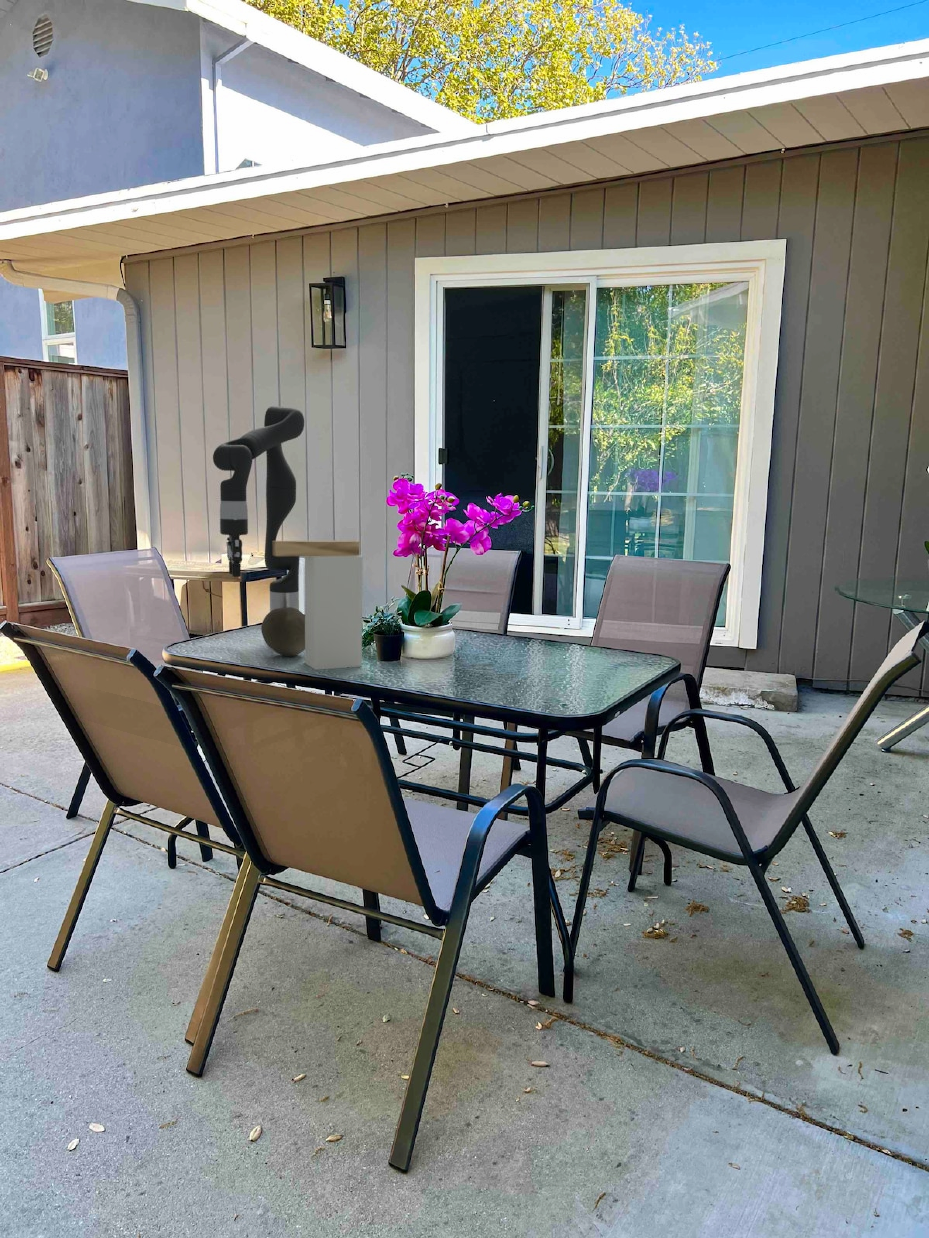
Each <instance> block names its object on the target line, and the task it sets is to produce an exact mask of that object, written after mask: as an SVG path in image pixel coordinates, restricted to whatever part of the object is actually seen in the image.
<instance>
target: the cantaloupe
mask: <svg viewBox="0 0 929 1238" xmlns="http://www.w3.org/2000/svg"><path fill="white" fill-rule="evenodd" d="M260 627H261V634H262V638H263V641H264V643H266V645H267V646H268V647H269V648H270V649H271V650H272V651H274V652H275V653H277V654H279V655H280V656H284V657H295V656H298V655H300V654H302V653H303V652H305V613H303V612H302V611H301V610H300V609H299V610H298V609H295V608H292V607H288V608H278V609H274V610H272V611H271V612H270V611H269V612H268V613H267V614H266V615H265V616H264V619H263V620H262V623H261V625H260Z"/></svg>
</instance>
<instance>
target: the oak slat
mask: <svg viewBox="0 0 929 1238" xmlns="http://www.w3.org/2000/svg"><path fill="white" fill-rule="evenodd" d="M350 555H360V540H356V539H355V540H351V539H350V540H276V541H273V556H300V557H305V556H350Z"/></svg>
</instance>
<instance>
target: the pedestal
mask: <svg viewBox="0 0 929 1238" xmlns="http://www.w3.org/2000/svg"><path fill="white" fill-rule="evenodd" d="M363 558H364V557H363V555H360V554H359V555H350V556H304V616H305V650H304V663H305V664H306V665H307V666H309V667H310V668H311V669H313V670H314V671H315V670H318V671H319V670H332V669H345V668H346V669H348V668H347V667H349V668H361V667H362V666H363V573H364V572H363V569H364V568H363Z"/></svg>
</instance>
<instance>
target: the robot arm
mask: <svg viewBox="0 0 929 1238" xmlns="http://www.w3.org/2000/svg"><path fill="white" fill-rule="evenodd" d="M263 423H264V425H263V427H258V428H255V429H252V430H250V431H248V432H247V433H244V435H242V436H241V437H239V438H236V439H233V440H229V441H227V442H224V443H221V444H219V445H218V446H217V447H216V449H215V450H214V452H213V454H212V461H213V464H214V466H215V467H216V468H217V469H219V470H221V471H225V472H226V471H227V472H229V471H231V472H232V471H233V475H232V477H231V478H228V479H227V478H226V479H223V480H222V481H221V482H220V486H219V488H220V489H219V491H220V495H219V496H220V506H219V532H220V534H221V535H223V536H228V537H227V538H226V542H225V543H226V554H227V555H226V556H227V560H228V573H229V574H230V575H232V577H234V578H240V577H241V574H242V573H241V572H242V567H241V565H242V561H243V541H242V539H240V536H247V535H248V534H249V522H248V521H249V518H248V517H249V516H248V511H249V510H248V503H247V487H248V486H247V485H248V482H249V476H250V473H251V469H252V466H253V460H255V459H257V457H259V456H261V455H262V454H264V453H266V483H265V500H266V501H265V502H266V503H265V504H266V505H265V507H266V524H265V525H266V526H265V529H266V530H265V544H264V564H265V567H266V569H267V570H269V571H287V572H288V573H286V575H284V576H283V577H281V578H279V579H276V580H273V581H271V582H270V583H269V612H271V611H272V610H274V609H278V608H288V607H292V608H295V609H298V610H299V611H300V609H299V608H300V593H299V590H300V589H299V586H300V585H299V584H300V583H299V582H300V579H299V578H300V574H299V573H300V557H301V556H273V541H277V536H278V533H279V531H280V528H281V526H282V524H283V523H284V521H286V518H287V517H288V516H289V514H290V513H291V511H292V510H293V508H294V506H295V503H296V501H297V480H296V477H295V475H294V473H293V470H292V468H291V467H290V465H289V463H288V461H287V459H286V458H285V455H284V452H283V448H282V444H283V443H286V442H288V441H291V440H294V439H296V438H299V437H300V436H301V435H302V433H303V431H304V428H305V417H304V415H303V413H302V411H301V410H300V409H297V408H294V407H285V406H276V405H272V406H269V407H268V408H266V411H265V415H264V422H263Z"/></svg>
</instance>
